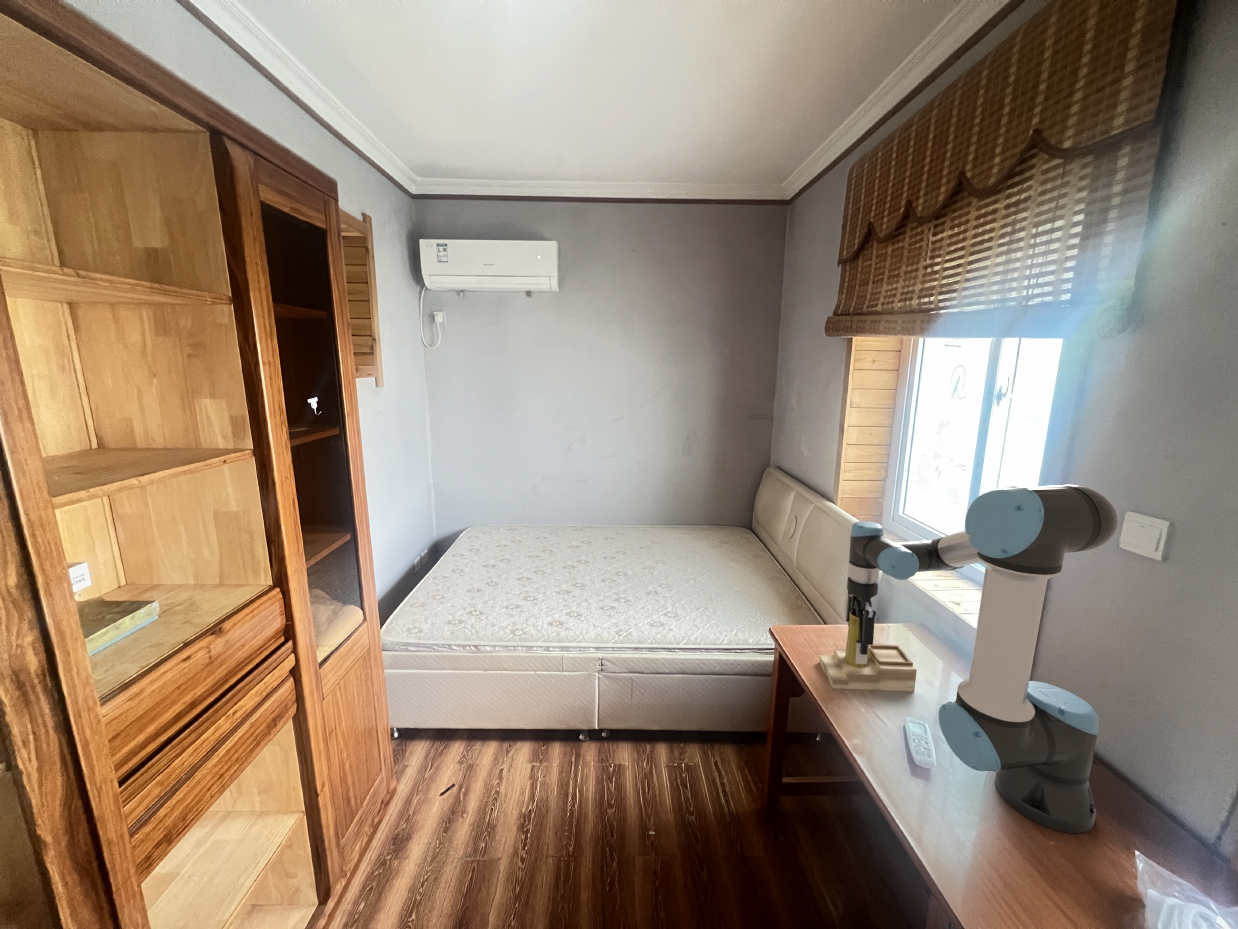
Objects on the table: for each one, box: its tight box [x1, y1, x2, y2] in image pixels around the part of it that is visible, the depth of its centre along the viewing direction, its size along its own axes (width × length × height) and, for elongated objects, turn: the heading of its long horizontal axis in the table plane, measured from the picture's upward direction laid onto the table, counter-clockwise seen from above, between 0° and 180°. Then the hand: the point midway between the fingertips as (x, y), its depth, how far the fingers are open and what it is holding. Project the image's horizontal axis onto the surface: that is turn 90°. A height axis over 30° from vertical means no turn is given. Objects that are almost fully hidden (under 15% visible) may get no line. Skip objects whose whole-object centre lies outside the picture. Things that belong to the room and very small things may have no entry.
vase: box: [845, 610, 869, 667], centre depth 137 cm, size 6×6×14 cm
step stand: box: [818, 643, 917, 693], centre depth 138 cm, size 12×21×7 cm, turn 84°
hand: (856, 656), depth 138 cm, fingers closed on vase, 6 cm apart
